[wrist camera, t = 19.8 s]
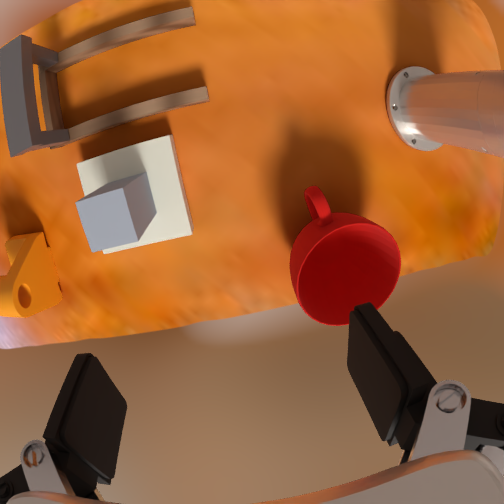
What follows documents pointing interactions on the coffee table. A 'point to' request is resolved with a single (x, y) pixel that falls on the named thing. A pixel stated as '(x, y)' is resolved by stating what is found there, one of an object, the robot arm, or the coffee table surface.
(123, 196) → the block
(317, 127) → the coffee table surface
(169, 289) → the coffee table surface
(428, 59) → the coffee table surface
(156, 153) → the plinth
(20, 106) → the grey arch
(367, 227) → the ceramic cup
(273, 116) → the coffee table surface
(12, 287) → the bracket
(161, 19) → the rack
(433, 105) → the robot arm
